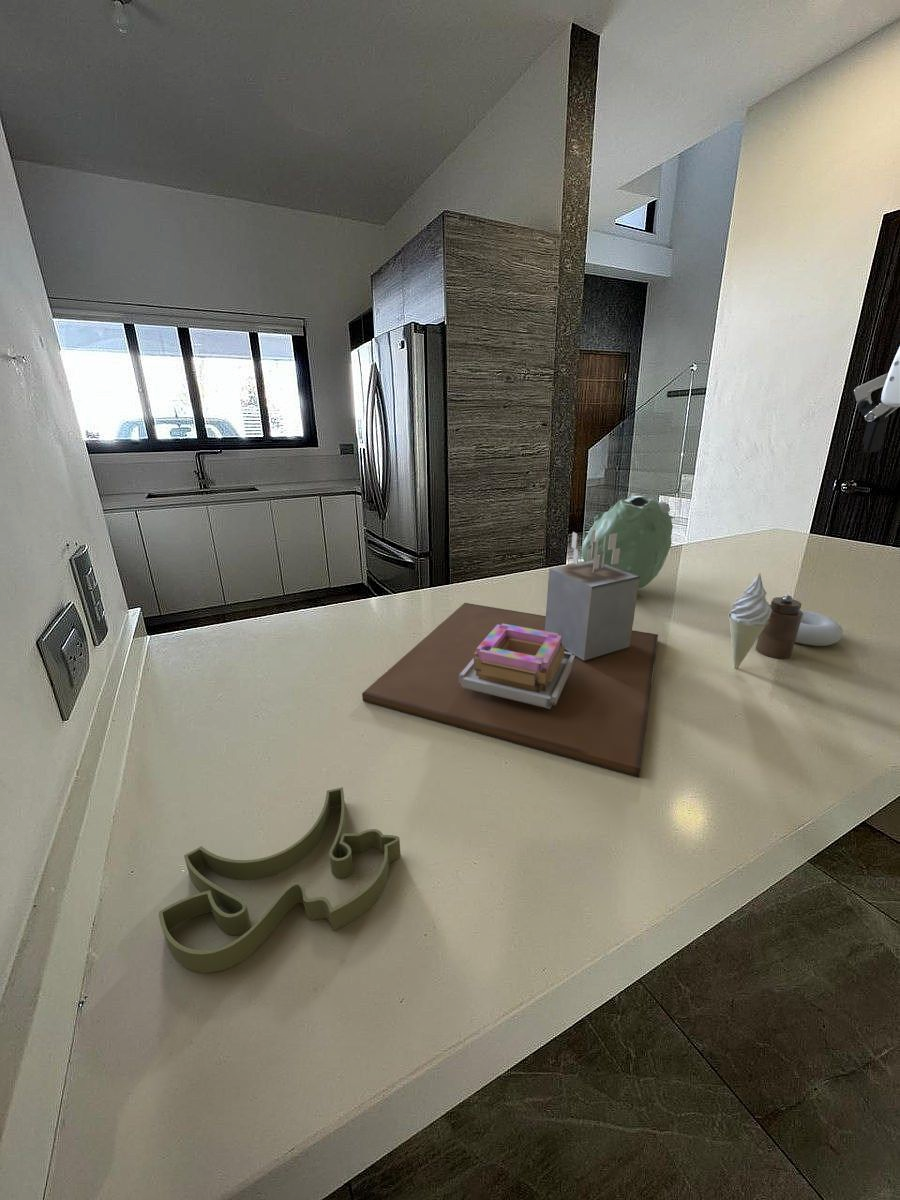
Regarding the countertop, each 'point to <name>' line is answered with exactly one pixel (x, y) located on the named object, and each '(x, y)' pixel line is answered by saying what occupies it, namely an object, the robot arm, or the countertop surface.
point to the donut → (818, 630)
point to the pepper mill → (780, 628)
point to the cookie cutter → (286, 900)
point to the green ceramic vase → (634, 536)
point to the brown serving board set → (540, 669)
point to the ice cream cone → (748, 619)
